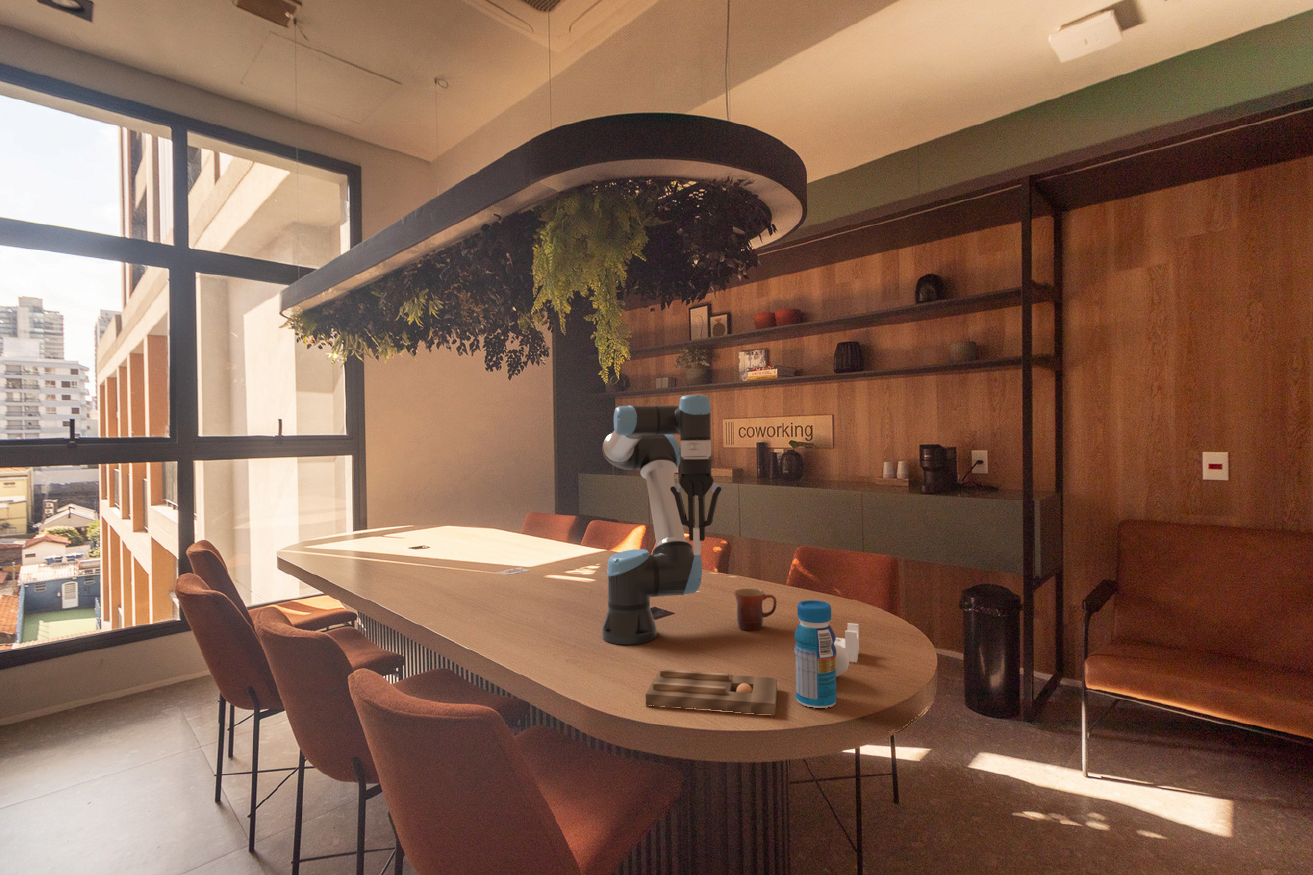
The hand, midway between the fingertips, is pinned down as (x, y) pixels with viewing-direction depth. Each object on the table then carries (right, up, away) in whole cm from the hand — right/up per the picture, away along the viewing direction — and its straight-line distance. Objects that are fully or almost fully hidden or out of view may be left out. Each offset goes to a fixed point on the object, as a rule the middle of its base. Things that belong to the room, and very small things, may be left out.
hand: (697, 553), depth 149 cm
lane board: (+2, -26, -22) cm, 34 cm away
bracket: (+34, -26, +2) cm, 43 cm away
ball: (+8, -24, -23) cm, 35 cm away
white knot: (+27, -26, -13) cm, 40 cm away
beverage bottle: (+23, -26, -24) cm, 42 cm away
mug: (+18, -26, +25) cm, 41 cm away
